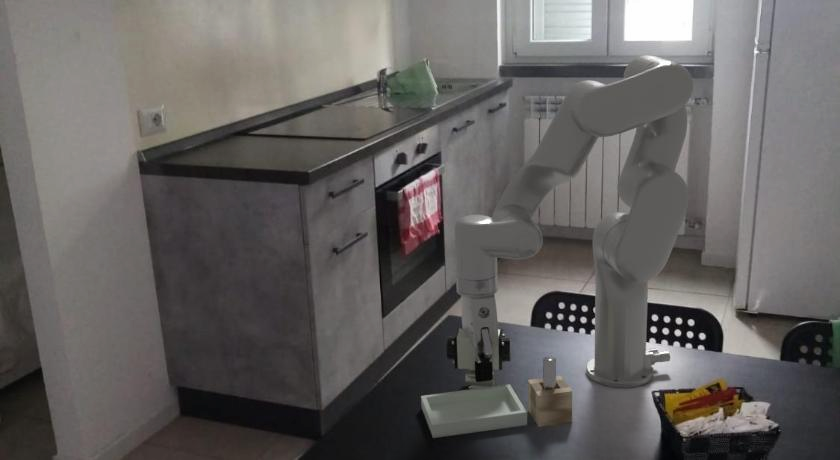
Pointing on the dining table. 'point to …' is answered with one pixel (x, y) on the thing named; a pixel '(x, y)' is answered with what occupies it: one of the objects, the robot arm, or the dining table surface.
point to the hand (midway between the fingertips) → (479, 371)
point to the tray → (473, 410)
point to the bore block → (550, 402)
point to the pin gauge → (549, 373)
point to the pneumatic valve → (466, 356)
